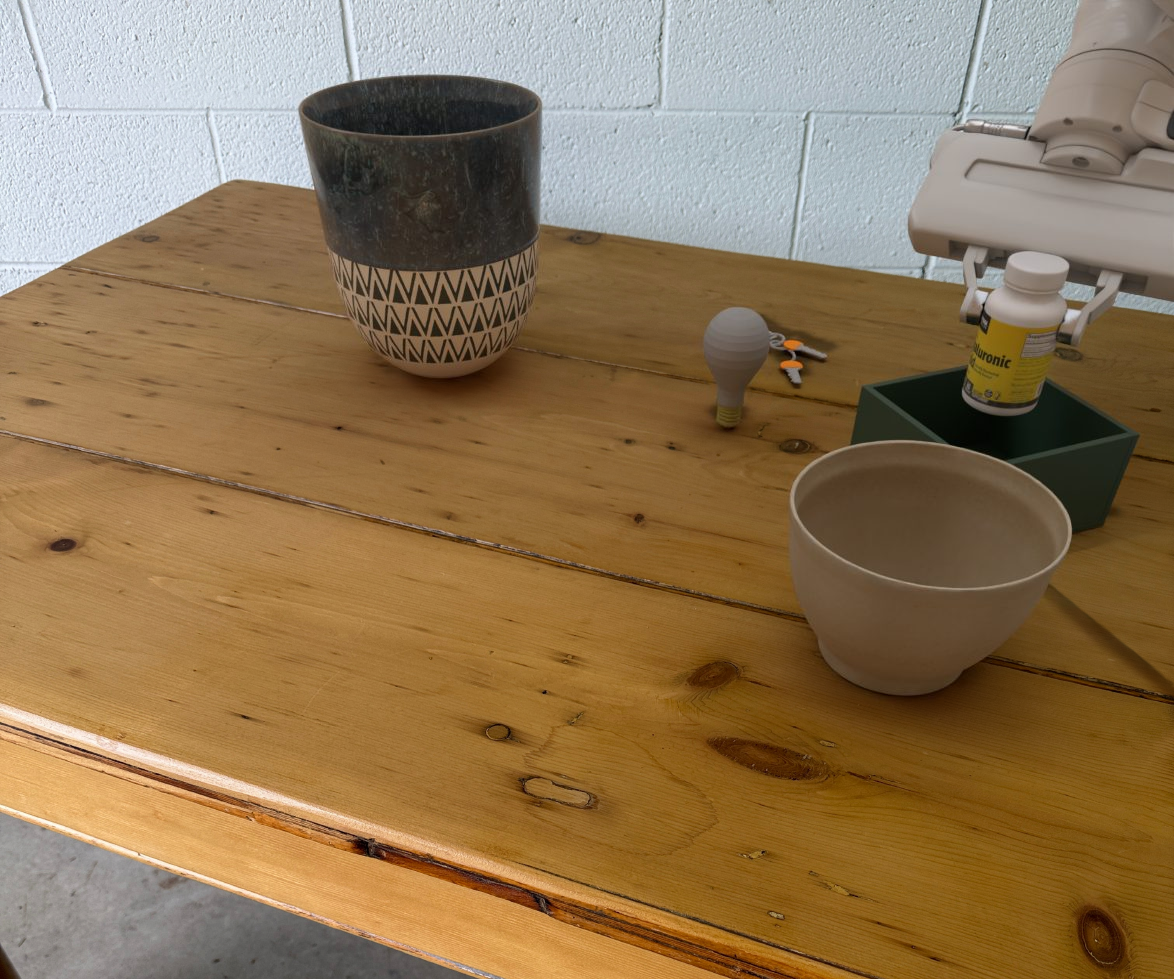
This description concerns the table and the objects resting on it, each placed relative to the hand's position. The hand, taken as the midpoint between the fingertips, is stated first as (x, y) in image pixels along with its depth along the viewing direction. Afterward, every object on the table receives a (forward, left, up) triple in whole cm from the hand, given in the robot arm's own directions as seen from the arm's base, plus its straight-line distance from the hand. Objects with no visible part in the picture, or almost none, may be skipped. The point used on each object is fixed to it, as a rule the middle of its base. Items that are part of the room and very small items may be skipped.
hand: (1018, 331), depth 73 cm
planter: (+30, -39, -14) cm, 52 cm away
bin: (-1, 0, -13) cm, 13 cm away
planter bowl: (+16, +14, -14) cm, 25 cm away
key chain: (0, -29, -13) cm, 32 cm away
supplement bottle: (0, 0, -6) cm, 6 cm away
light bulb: (+11, -18, -14) cm, 26 cm away
